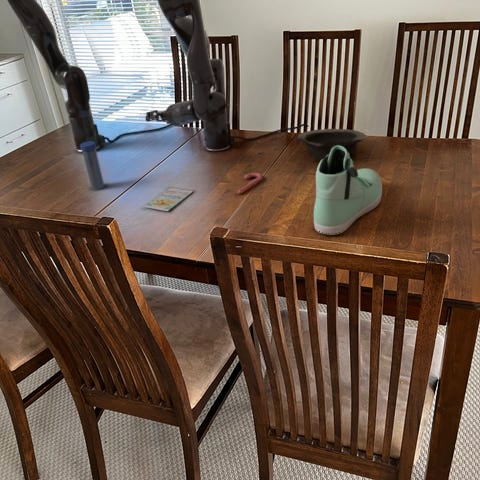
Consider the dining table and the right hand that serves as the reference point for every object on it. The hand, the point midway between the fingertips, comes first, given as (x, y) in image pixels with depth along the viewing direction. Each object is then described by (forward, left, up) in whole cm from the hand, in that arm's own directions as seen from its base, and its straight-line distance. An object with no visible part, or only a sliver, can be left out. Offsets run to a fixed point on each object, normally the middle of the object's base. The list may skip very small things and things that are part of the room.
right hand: (157, 119), depth 176 cm
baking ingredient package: (+17, +33, -15) cm, 40 cm away
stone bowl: (-46, +44, -15) cm, 65 cm away
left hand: (+61, -24, +14) cm, 67 cm away
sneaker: (-19, +76, -15) cm, 80 cm away
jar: (+29, +6, -15) cm, 34 cm away
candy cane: (-8, +43, -15) cm, 46 cm away
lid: (+29, +6, 0) cm, 30 cm away
